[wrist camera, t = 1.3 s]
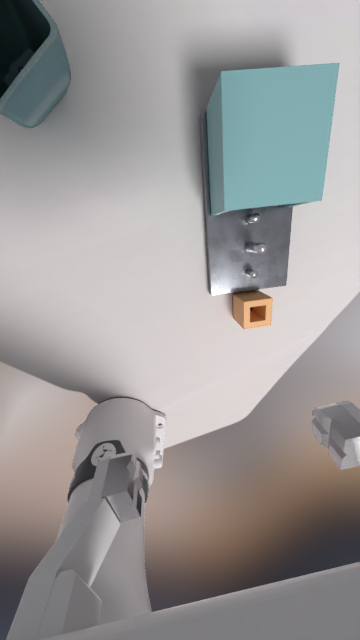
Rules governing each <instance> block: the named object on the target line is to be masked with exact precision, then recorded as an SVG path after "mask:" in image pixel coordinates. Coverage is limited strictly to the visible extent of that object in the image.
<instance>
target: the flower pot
mask: <svg viewBox="0 0 360 640" xmlns="http://www.w3.org/2000/svg"><path fill="white" fill-rule="evenodd" d="M21 69H22V70H21ZM20 70H21V71H20ZM70 79H71V73H70V67H69V63H68V59H67V56H66V53H65V49H64V46H63V43H62V40H61V37H60V34H59V31H58V28H57V25H56V23H55V22H54V20H53V19H52V18H51V16H50V15H49V14H48V12H47V11H46V10H45V9H44V7H43V6H42V5H41V3H40V2H39V1H38V0H0V113H1V114H2V115H4V116H6V117H7V118H9V119H11V120H12V121H14V122H16V123H17V124H19V125H21V126H24V127H27V128H33V127H36V126H38V125H39V124H40V123H41V122H42V121H43V120H44V119H45V118H46V117H47V115H48V114H49V113H50V112H51V110H52V109H53V108H54V107H55V105H56V104H57V103H58V102H59V101H60V100H61V98H62V97H63V96H64V94H65V93H66V91H67V89H68V87H69V84H70Z"/></svg>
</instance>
